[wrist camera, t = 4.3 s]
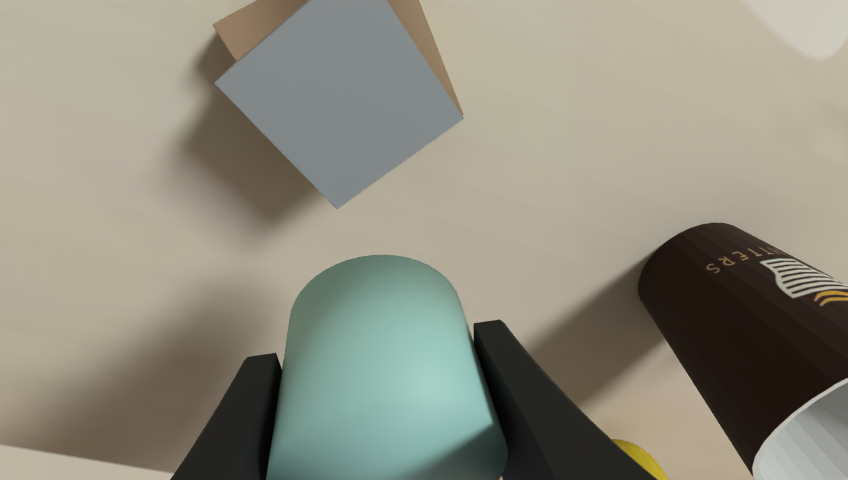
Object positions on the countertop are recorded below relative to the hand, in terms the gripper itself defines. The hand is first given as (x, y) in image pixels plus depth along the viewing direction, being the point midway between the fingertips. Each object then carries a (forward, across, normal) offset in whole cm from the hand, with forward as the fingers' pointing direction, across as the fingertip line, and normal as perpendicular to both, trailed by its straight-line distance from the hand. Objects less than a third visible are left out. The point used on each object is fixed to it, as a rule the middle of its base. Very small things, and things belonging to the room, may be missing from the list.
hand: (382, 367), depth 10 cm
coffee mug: (+11, -19, +9) cm, 23 cm away
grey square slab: (+8, 0, -4) cm, 10 cm away
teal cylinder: (+1, 0, 0) cm, 1 cm away
